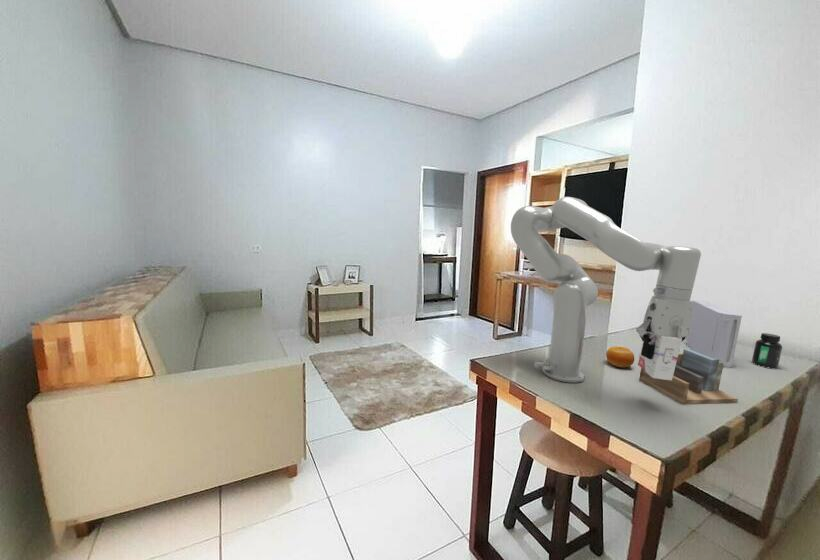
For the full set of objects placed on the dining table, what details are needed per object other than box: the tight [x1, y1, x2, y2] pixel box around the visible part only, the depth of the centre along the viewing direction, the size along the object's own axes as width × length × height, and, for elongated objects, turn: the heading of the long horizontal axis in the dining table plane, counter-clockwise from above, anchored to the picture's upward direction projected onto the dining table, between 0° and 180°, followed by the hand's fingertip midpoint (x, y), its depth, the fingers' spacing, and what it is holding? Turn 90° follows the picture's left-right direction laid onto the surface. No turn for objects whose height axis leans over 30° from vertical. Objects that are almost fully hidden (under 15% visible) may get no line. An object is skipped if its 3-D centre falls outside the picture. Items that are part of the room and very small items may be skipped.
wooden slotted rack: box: [639, 348, 739, 405], centre depth 100 cm, size 18×15×11 cm
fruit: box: [605, 346, 635, 368], centre depth 118 cm, size 8×8×8 cm
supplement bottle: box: [751, 332, 783, 369], centre depth 123 cm, size 7×7×12 cm
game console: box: [685, 300, 743, 368], centre depth 132 cm, size 6×27×20 cm, turn 157°
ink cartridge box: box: [637, 326, 683, 380], centre depth 89 cm, size 9×5×15 cm, turn 169°
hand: (657, 356), depth 89 cm, fingers closed on ink cartridge box, 6 cm apart
